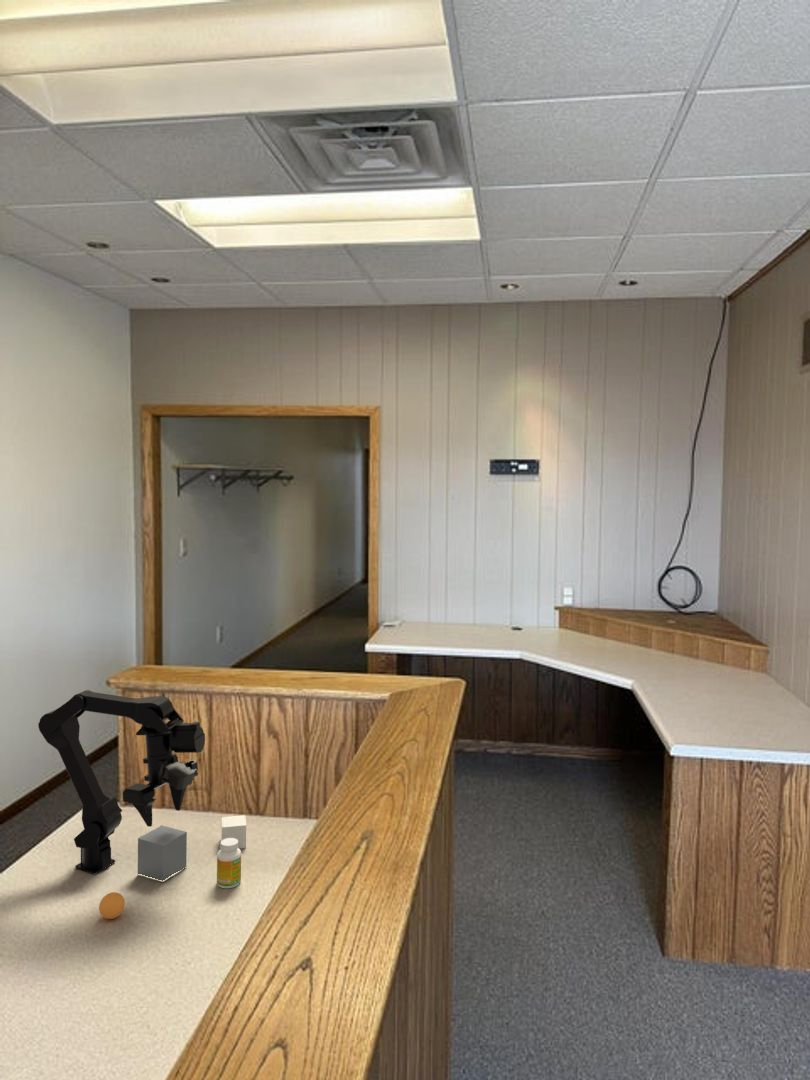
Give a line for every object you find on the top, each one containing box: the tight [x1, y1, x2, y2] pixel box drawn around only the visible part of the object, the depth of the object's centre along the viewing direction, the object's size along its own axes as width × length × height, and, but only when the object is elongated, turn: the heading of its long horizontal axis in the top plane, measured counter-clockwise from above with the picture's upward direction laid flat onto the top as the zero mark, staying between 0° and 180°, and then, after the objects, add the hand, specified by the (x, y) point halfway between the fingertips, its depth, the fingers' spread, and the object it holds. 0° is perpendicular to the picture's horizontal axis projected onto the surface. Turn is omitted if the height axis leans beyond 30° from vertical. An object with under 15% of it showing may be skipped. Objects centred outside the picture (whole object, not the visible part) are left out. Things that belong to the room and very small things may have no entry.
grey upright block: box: [137, 824, 188, 881], centre depth 170 cm, size 8×8×9 cm
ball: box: [98, 891, 126, 920], centre depth 151 cm, size 5×5×5 cm
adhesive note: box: [220, 814, 247, 850], centre depth 184 cm, size 6×6×6 cm
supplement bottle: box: [216, 838, 242, 889], centre depth 165 cm, size 5×5×10 cm
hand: (164, 818), depth 169 cm, fingers open, 9 cm apart
